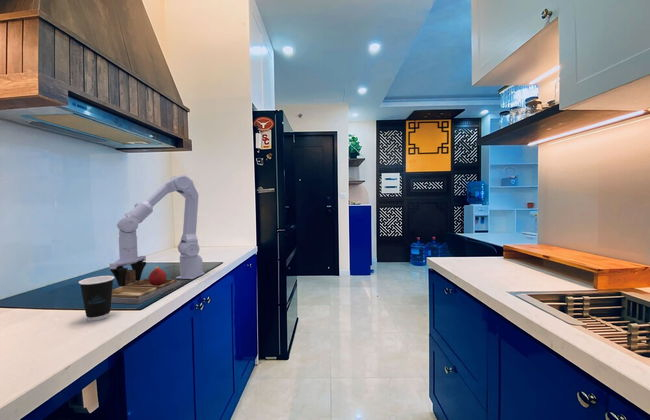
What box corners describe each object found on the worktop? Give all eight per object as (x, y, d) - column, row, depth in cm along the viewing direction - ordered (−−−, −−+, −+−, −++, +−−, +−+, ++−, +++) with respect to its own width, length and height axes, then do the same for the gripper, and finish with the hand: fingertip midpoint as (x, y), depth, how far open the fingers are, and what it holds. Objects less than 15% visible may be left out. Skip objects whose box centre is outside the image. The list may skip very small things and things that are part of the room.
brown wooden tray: (146, 283, 114) (146, 279, 114) (180, 285, 112) (180, 281, 111) (97, 302, 94) (97, 297, 94) (138, 304, 91) (138, 299, 91)
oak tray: (113, 291, 104) (112, 274, 103) (157, 293, 101) (156, 275, 101) (90, 300, 95) (89, 280, 95) (137, 302, 92) (137, 282, 92)
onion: (161, 289, 104) (160, 268, 104) (145, 290, 104) (144, 268, 104) (169, 285, 110) (169, 264, 110) (155, 285, 110) (154, 264, 110)
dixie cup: (104, 310, 86) (103, 274, 86) (122, 313, 83) (120, 276, 83) (73, 320, 79) (71, 281, 78) (91, 325, 76) (90, 284, 76)
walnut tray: (135, 283, 114) (134, 267, 113) (176, 285, 111) (175, 268, 111) (116, 290, 105) (115, 273, 105) (160, 292, 102) (159, 274, 102)
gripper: (134, 245, 116) (135, 277, 117) (101, 251, 102) (103, 288, 102) (149, 245, 115) (151, 278, 116) (118, 251, 101) (120, 289, 101)
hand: (129, 283), depth 109 cm, fingers open, 6 cm apart
